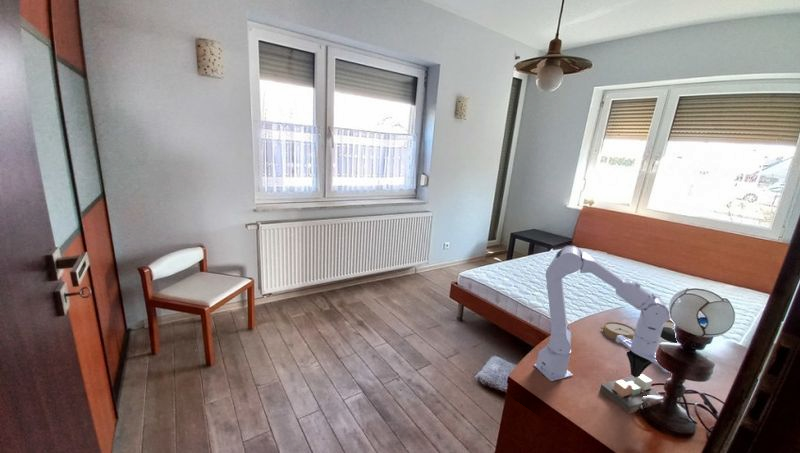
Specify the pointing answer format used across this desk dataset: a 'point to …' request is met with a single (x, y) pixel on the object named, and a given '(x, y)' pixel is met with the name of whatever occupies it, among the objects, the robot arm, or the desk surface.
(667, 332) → the medicine bottle
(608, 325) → the alarm clock
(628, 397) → the console
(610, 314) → the desk surface
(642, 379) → the white cube
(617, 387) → the peach cube
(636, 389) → the pale green cube
